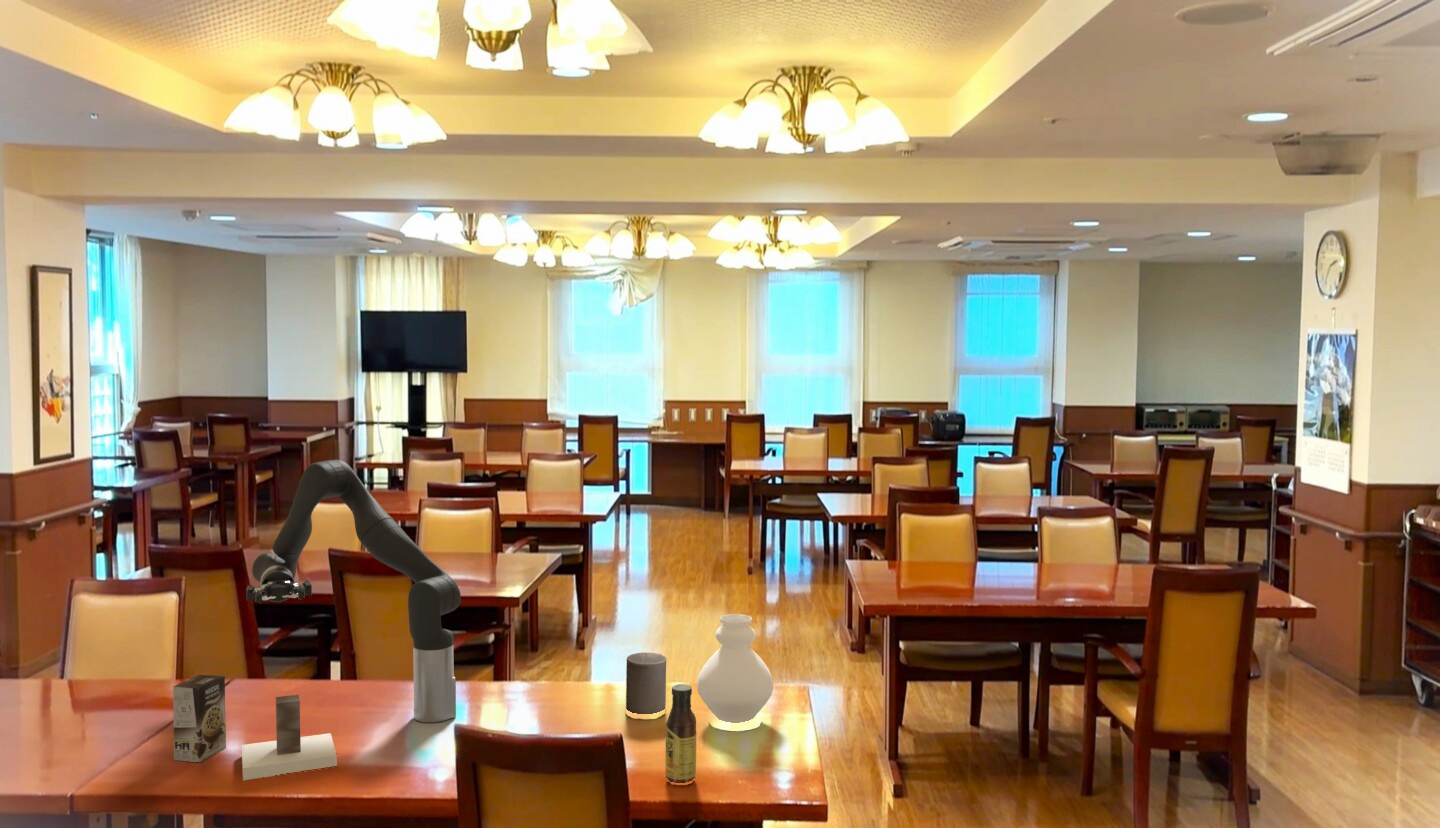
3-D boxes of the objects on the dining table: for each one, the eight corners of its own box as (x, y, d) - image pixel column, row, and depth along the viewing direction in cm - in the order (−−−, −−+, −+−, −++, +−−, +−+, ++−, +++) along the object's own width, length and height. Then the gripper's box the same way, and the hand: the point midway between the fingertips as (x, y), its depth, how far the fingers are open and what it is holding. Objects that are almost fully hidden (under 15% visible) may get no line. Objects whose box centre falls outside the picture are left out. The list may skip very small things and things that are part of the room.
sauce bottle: (664, 775, 224) (665, 681, 222) (695, 775, 224) (695, 680, 223) (665, 788, 217) (666, 691, 216) (697, 788, 218) (697, 690, 216)
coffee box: (199, 763, 228) (198, 688, 227) (173, 760, 230) (171, 686, 229) (227, 747, 237) (226, 675, 236) (201, 745, 239) (200, 673, 238)
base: (330, 744, 240) (330, 733, 240) (336, 766, 227) (336, 755, 227) (241, 756, 232) (241, 745, 232) (242, 780, 220) (242, 768, 219)
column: (299, 744, 232) (298, 694, 232) (300, 752, 228) (299, 700, 228) (276, 747, 231) (275, 697, 230) (277, 755, 227) (276, 703, 226)
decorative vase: (767, 738, 245) (768, 629, 244) (690, 733, 248) (691, 625, 247) (776, 712, 263) (778, 610, 261) (704, 707, 266) (705, 607, 264)
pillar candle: (617, 715, 260) (618, 654, 258) (641, 704, 268) (642, 644, 267) (650, 723, 254) (651, 661, 253) (674, 711, 263) (674, 651, 262)
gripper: (245, 570, 261) (246, 583, 246) (308, 565, 267) (313, 578, 252) (245, 600, 262) (247, 616, 247) (308, 595, 267) (313, 610, 253)
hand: (280, 597), depth 250 cm, fingers open, 8 cm apart
